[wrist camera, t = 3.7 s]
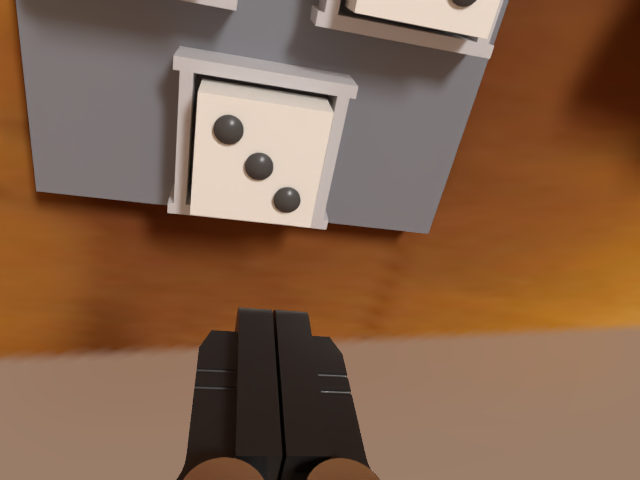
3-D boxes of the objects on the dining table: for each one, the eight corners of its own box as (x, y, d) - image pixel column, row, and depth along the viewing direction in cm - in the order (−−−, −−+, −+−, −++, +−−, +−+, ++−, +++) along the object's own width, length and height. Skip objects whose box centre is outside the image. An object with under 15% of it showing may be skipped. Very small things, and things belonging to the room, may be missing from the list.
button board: (540, -163, 19) (602, -185, 16) (417, 215, 28) (440, 254, 24) (7, -321, 16) (-61, -393, 12) (51, 173, 24) (18, 212, 21)
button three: (326, 98, 20) (334, 114, 18) (305, 205, 23) (310, 229, 21) (202, 78, 19) (197, 92, 17) (194, 193, 22) (189, 216, 20)
